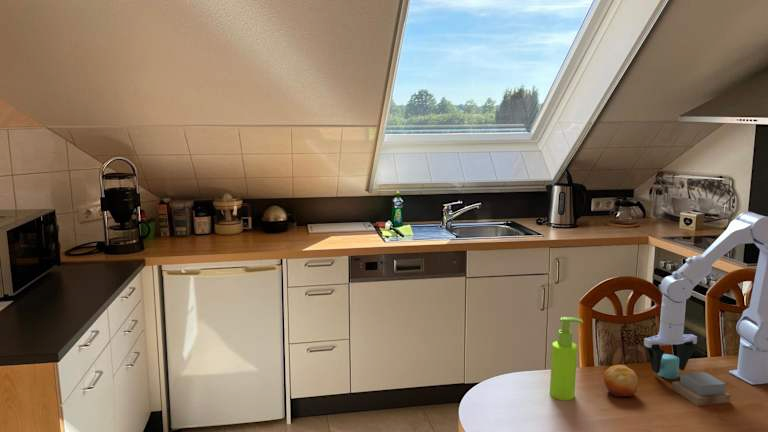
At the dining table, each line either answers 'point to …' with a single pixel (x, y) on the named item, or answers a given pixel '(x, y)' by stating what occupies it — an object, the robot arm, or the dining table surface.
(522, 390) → the dining table surface
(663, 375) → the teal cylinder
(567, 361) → the soap dispenser
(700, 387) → the grey square block
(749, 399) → the dining table surface
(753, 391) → the dining table surface
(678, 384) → the beige square slab
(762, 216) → the robot arm
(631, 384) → the tan round lump
